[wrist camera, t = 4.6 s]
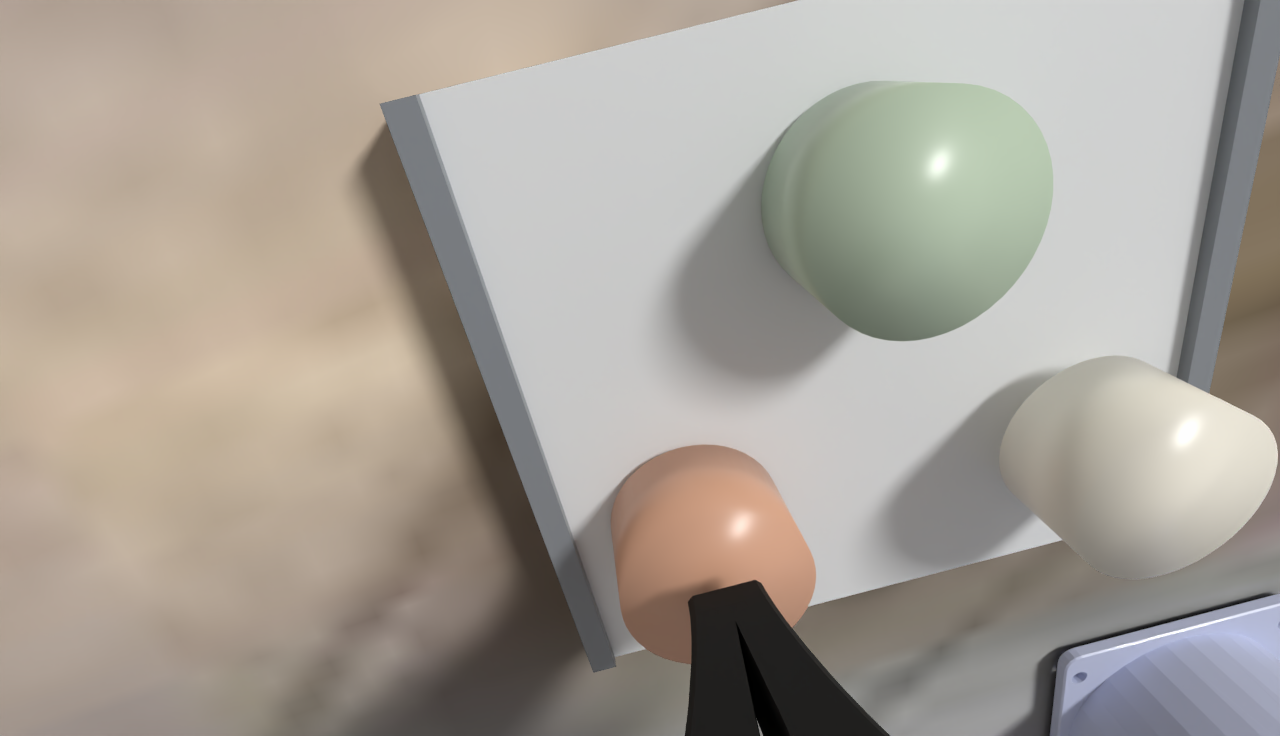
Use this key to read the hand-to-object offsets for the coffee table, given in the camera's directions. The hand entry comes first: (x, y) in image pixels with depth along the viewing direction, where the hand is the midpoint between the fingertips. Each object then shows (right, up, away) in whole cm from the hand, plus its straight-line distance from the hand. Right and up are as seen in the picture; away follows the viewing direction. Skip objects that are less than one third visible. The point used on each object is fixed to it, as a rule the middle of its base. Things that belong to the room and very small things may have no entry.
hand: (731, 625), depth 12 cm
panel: (+3, +6, +3) cm, 7 cm away
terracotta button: (0, +1, +3) cm, 3 cm away
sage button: (+3, +8, 0) cm, 9 cm away
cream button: (+8, +3, +2) cm, 9 cm away
